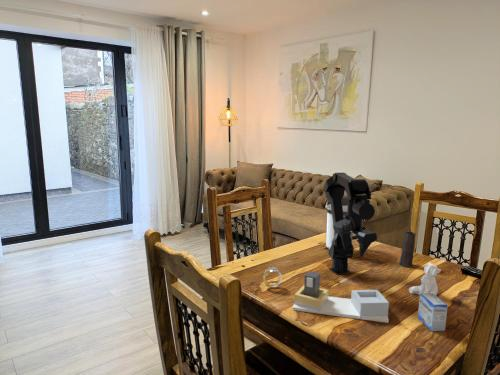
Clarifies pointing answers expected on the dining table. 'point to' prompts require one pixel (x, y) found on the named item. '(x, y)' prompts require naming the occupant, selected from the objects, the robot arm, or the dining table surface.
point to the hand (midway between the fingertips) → (353, 252)
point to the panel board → (340, 310)
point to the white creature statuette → (427, 281)
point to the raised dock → (369, 303)
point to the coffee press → (329, 224)
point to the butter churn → (408, 246)
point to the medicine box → (432, 311)
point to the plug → (312, 284)
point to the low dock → (311, 299)
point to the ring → (269, 273)
